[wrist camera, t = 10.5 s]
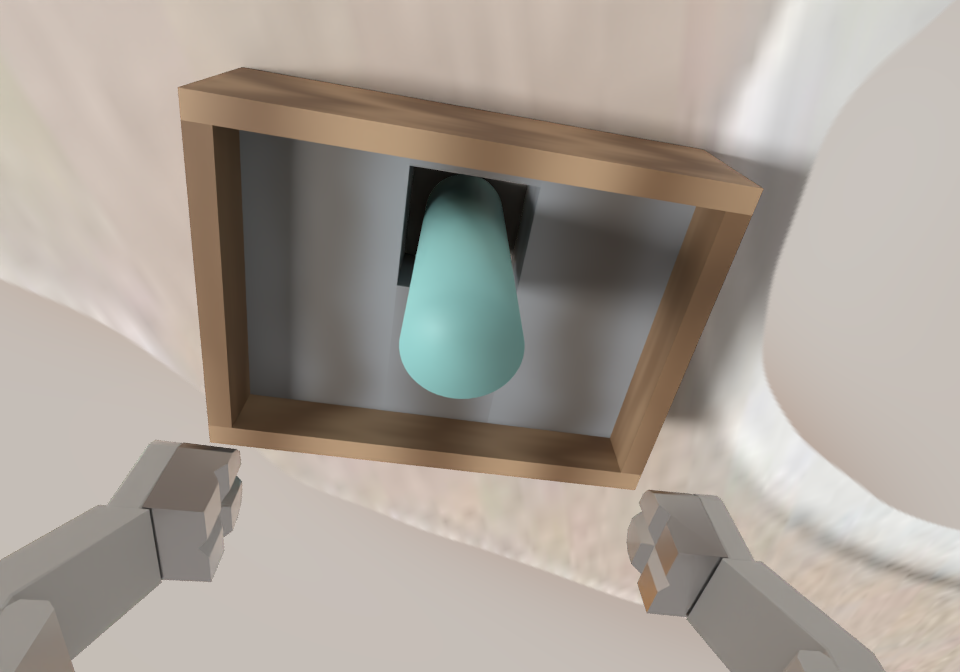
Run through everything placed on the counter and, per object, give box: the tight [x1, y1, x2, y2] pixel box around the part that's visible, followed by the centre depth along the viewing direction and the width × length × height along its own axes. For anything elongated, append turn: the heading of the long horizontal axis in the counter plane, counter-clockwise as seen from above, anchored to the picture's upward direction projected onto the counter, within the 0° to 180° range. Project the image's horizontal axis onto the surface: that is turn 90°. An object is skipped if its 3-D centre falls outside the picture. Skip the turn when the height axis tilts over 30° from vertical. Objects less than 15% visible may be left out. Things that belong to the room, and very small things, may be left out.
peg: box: [399, 174, 525, 399], centre depth 22 cm, size 4×4×12 cm
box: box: [178, 67, 763, 490], centre depth 26 cm, size 20×15×6 cm
